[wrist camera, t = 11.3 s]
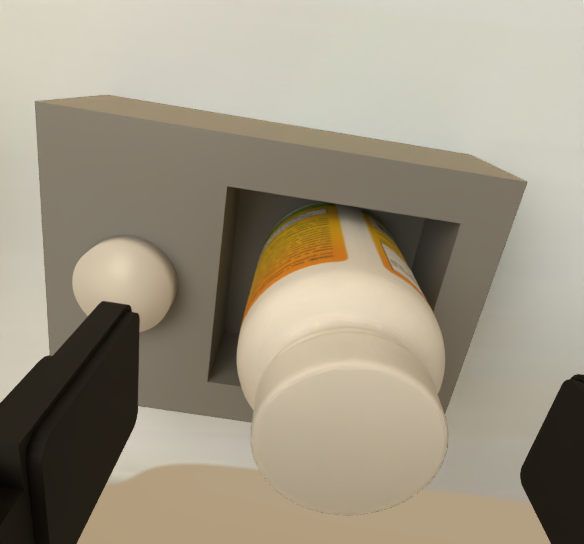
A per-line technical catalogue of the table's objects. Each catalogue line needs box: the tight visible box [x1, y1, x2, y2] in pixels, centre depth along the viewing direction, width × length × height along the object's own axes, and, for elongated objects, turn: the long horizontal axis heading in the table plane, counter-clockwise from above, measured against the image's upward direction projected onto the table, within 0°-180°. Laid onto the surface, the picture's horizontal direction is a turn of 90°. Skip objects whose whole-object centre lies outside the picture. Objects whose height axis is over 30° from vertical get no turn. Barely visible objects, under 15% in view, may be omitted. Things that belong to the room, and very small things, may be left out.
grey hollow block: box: [35, 95, 527, 422], centre depth 17 cm, size 14×10×6 cm
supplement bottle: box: [237, 202, 448, 515], centre depth 14 cm, size 5×5×10 cm
